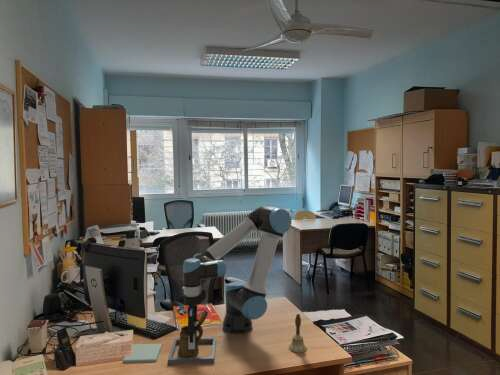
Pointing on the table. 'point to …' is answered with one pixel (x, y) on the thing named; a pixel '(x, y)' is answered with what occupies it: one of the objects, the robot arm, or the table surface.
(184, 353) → the wooden mug
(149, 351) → the coaster
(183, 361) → the frame
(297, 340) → the hand bell
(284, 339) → the table surface
